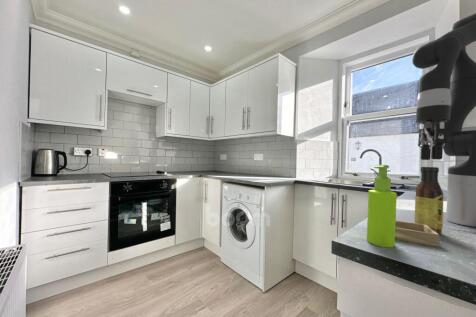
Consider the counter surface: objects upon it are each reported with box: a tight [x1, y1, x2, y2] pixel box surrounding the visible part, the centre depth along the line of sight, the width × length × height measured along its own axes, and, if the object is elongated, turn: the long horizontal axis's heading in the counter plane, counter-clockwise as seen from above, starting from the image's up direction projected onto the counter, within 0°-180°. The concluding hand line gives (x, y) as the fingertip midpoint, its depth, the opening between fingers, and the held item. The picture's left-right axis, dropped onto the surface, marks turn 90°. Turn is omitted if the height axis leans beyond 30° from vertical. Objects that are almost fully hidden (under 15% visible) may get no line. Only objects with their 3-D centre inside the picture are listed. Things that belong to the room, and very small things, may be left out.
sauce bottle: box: [414, 166, 444, 235], centre depth 62 cm, size 7×6×20 cm
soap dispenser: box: [366, 164, 398, 248], centre depth 51 cm, size 6×7×20 cm
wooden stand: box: [395, 220, 440, 248], centre depth 57 cm, size 9×10×3 cm
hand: (430, 159), depth 62 cm, fingers open, 8 cm apart
